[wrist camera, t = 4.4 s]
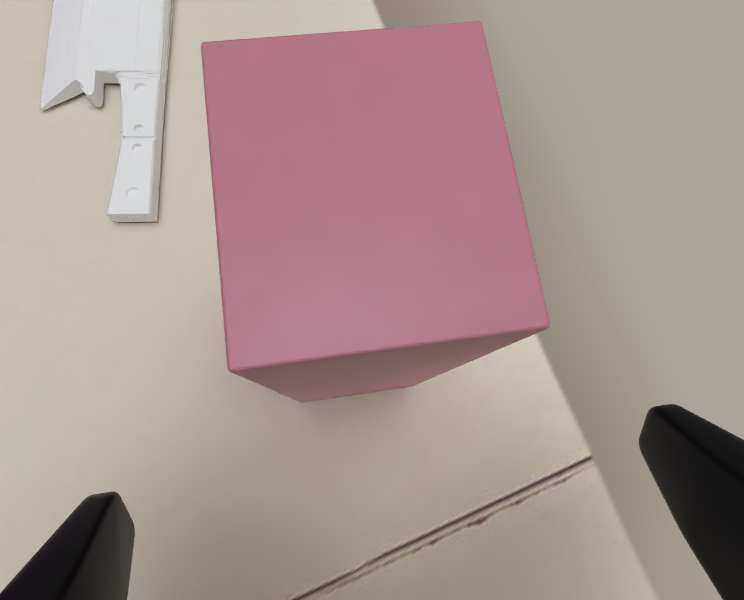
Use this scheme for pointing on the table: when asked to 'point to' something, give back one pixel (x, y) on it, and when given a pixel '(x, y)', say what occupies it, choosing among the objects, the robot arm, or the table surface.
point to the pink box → (365, 208)
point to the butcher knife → (117, 65)
